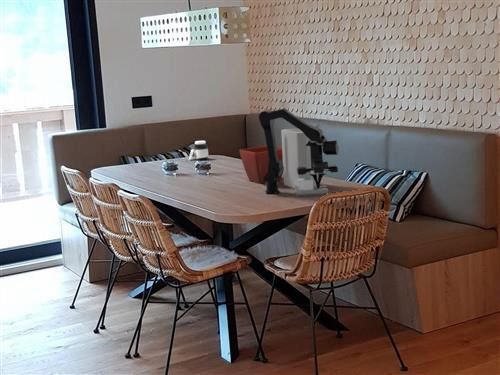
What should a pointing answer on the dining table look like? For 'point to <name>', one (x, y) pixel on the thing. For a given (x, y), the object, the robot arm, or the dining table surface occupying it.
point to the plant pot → (258, 162)
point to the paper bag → (295, 156)
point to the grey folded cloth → (311, 191)
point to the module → (305, 183)
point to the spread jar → (200, 151)
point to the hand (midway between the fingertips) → (318, 187)
